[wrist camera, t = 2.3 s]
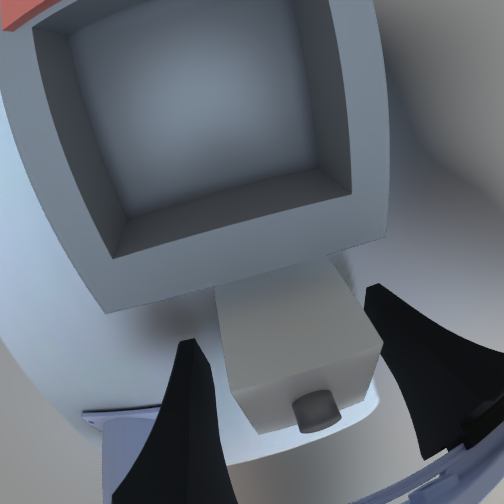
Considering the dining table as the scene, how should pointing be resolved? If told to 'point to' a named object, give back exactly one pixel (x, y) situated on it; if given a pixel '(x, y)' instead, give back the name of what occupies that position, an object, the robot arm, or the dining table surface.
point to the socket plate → (198, 135)
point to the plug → (296, 346)
